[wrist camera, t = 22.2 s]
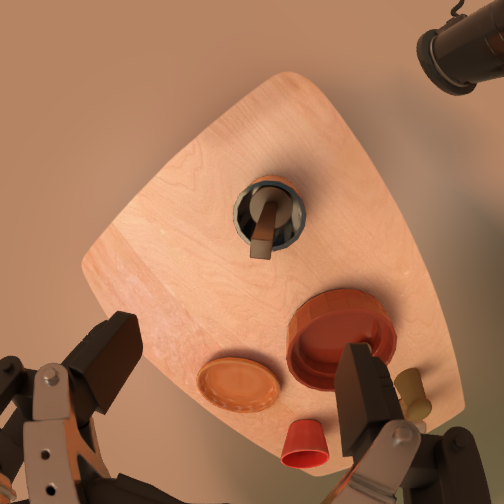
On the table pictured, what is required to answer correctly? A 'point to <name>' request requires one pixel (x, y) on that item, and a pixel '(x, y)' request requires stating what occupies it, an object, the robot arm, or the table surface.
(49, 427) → the robot arm
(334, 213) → the table surface
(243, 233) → the crock
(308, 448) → the flower pot
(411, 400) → the brown peg figure
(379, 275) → the table surface
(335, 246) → the table surface
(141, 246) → the table surface
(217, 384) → the saucer
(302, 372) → the bowl
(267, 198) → the wooden pestle
